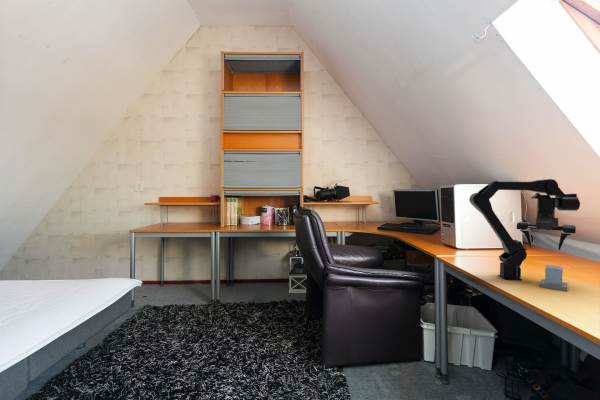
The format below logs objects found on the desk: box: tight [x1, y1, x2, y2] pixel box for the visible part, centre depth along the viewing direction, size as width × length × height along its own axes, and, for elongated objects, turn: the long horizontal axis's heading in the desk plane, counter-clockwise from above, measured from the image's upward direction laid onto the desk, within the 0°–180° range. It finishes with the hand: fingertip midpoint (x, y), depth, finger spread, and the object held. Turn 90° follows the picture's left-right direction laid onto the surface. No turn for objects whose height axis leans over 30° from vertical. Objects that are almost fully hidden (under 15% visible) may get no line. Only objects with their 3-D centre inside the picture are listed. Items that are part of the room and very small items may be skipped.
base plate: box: [539, 278, 569, 292], centre depth 121 cm, size 8×8×4 cm
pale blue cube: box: [544, 264, 564, 286], centre depth 121 cm, size 5×5×6 cm
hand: (544, 248), depth 129 cm, fingers open, 9 cm apart
